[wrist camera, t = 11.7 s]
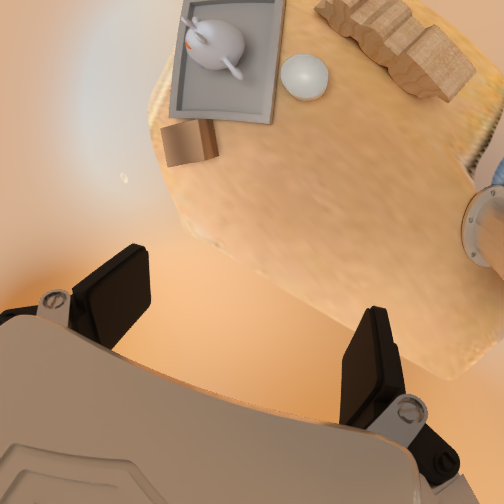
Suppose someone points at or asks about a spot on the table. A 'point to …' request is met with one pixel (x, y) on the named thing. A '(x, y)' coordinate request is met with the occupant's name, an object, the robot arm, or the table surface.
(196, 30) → the toy figure
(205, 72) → the tray
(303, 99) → the pale grey egg shape
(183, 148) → the walnut cube
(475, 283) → the table surface
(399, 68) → the stepped wooden block
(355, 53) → the table surface
